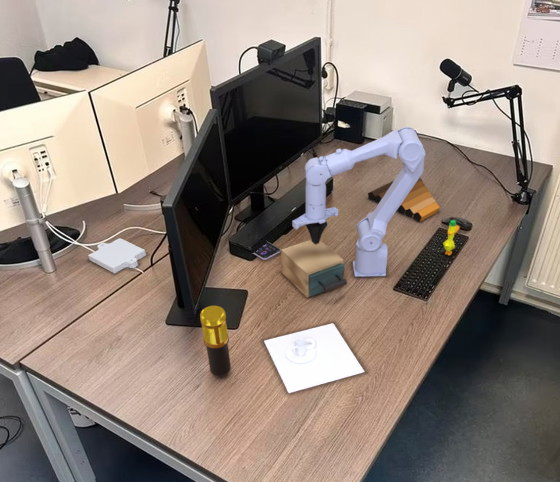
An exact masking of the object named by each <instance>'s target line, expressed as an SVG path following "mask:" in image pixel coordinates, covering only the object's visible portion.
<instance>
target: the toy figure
mask: <svg viewBox="0 0 560 482" xmlns="http://www.w3.org/2000/svg"><path fill="white" fill-rule="evenodd" d="M459 230H460V225H458V224H457V222H456V220H455V219H452V220H450V222H449V223H448V228H447V239H446V240H445V241H443V243H442V246H443V248H444V250H445V253H444V255H447V256H451V255H452V254H453V250H454V249H455V248H456V245H455V241H454V237H455V235H456V233H458V231H459Z"/></svg>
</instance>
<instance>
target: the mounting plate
mask: <svg viewBox="0 0 560 482" xmlns="http://www.w3.org/2000/svg"><path fill="white" fill-rule="evenodd" d="M96 248H97V250H95V251H93V252H91V253H89V254H87V256H88V259H89V262H93V264H96V265H97V266H100V267H102V268H103V269H105V270H107V271H109V272H111V273H113V274H116V273H118V272H120V271H121V270H123V269H125V268H130V269H135V268H136V267H137V266H139V262H138V261H139V260H141V259H142V258H144V257H146V256H147V253H146V252H147V251H146V250H145V249H143V248H142V247H139V246H138V245H136V244H133V243H132V242H130V241H128V240H125V239H123V238H121V237H119V238H117V239H115V240H113V241H112V242H109V243H107V242H101V243H99V244H97V246H96Z"/></svg>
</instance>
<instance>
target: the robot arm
mask: <svg viewBox="0 0 560 482" xmlns="http://www.w3.org/2000/svg"><path fill="white" fill-rule="evenodd" d="M383 155H384V156H387V157H390V158H392V159H395V160H397V159H398V156H399V159H400V160H401V162H402V168H401V169H400V171H399V172H398V174H397V175H396V177H395V178H394V180H393V181H394V182H393V183H392V185H391V186H390V188H389V189H388V191H387V192H386V193H385V195H384V196H383V198H382V199H381V201H380V202H379V203H377V205H376V207H375V208H374V210H373V211H372V212H369V213H367V215H366V216H365V217H364V218H363V219H361V220H360V221H358V223H357V224H356V232H357V234H358V239H357V241H356V243H355V256H354V257H355V258H354V259H355V260H353V261H352V269H353V274H354V277H356V278H361V277H362V278H363V277H365V278H366V277H387V265H388V245H387V243H385V242H384V243H383V238H384V237H385V235H386V233H387V227H388V224H389V222H390V221H391V220H392V219H393V217H394V215H395V213H396V212H398V210H397V209H398V208H399V206H400V205H401V203H402V202H403V201H404V199H405V198H406V196H407V195H408V193H409V192H410V191H411V189H412V188H413V186H414V185H415V183H416V182H417V181H418V179H419V178H421V176H422V175H423V173H424V168H425V157H426V155H427V154H426V150H425V147H424V145H423V143H422V141H421V140H420V139H419V136H418V133H417V131H416V129H414V128H413V127H410V126H404V127H401V128H399V129H398V130H397V129H395V130H392V131H390V132H389V133H387V134H385V135H384V136H382V137H379V138H378V139H375V140H373V141H370V142H369V143H366V144H364V145H361V146H359V147H357V148H355V149H353V150H350V149H348V148H343V149H341V148H336V150H335V152H332V153H330V154H327V155H324V156H323V155H321V156H319V157H311V158H310V159H308V161H307V162H306V163H305V165H304V172H305V213H303V214H302V215H300V216H299V217H297V218H295V219H293V220H292V222H291V224H292V225H291V226H292V228H294V229H295V230H298V229H300V227H303V226H305V227H306V229H307V231H308V233H309V236H310V240H312V242H313V243H314V244H318V243H319V241H321V238H322V236H323V233H324V231H325V229H326V228H327V227H328V221H327V220H328V219H329V218H331V217H338V216H339V209H338V208H336V207H335V206H334V207H328V208H326V207H327V185H326V182H327V180H328V179H331V178H333V177H335V176H337V175H340V174H343V173H345V172H349V171H351V170H352V169H354V166H355V165H356V164H358V163H360V162H364V161H367V160H371V159H374V158H377V157H380V156H383Z"/></svg>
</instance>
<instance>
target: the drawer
mask: <svg viewBox="0 0 560 482" xmlns="http://www.w3.org/2000/svg"><path fill="white" fill-rule="evenodd" d="M347 284H348V281H347V279H346V278H345V264H344V263H343V264H342V263H341V264H338V265H334V266H332V267H329V268H326V269H323V270H322V271H319V272H316V273H312V274H310V275H309V295H310V296H309V297H313V296H315V295H318V294H321V293H323V292H325V293H327V292H330V291H333V290H335V289H338V288H340V287H343V286H346V285H347Z"/></svg>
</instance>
